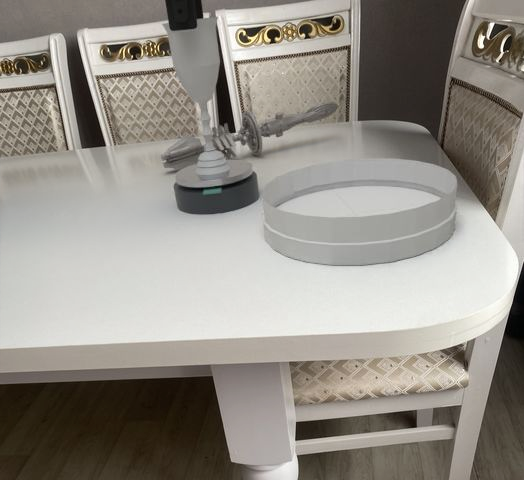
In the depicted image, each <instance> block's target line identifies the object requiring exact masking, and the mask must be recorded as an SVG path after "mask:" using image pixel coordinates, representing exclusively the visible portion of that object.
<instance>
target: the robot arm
mask: <svg viewBox="0 0 524 480" xmlns="http://www.w3.org/2000/svg"><path fill="white" fill-rule="evenodd" d="M164 2H165V9H166V15H167V21H168V22H167V23H169V28H170V30H171V31H180V30H189V29H196V28H197V19H202V18H205V17H204V10H203V3H202V2H203V1H202V0H164Z"/></svg>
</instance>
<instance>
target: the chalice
mask: <svg viewBox="0 0 524 480" xmlns="http://www.w3.org/2000/svg"><path fill="white" fill-rule="evenodd" d="M218 19H219V16H212V17H204V18H202V19H197V28H196V29H189V30H180V31H171V30H170V28H169V22H165V23H161V25H162V27H163V28H164V30H165V32H166V33H167V37H168V42H169V49H170V54H171V55H170V56H171V61H172V65H173V70H174V72H175V73H176V76H177V78H178V80H179V82H180V84H181V86H182V87H183V89H184V91H185V92H186V94H187V95H188V97H189V98H190V101H192V102H194V103H196V104H198V106H199V109H200V118H199V121H200V122H201V124H202V132H201V136H202V137H203V140H204V141H205V145H206V149H205V152H204V153H201V154H200V156H199V158H198V160H199V161H198V164H197V166H198V167H197V170H196V172H195V173H196V174H199V175H214V174H219V173H223V172H226V171H228V170H230V169H231V167H230V165H229V164H228V163H227V160H228V159H227V157H226V156H225V157H224V154H223V153H222V152H221V151H217V150H215V149H216V148H214V146H213V143H212V139H213V138H212V135H213V134H214V132H213V131H212V127H211V125H210V124H211V119H212V117H211V116H210V113H209V110H208V102H210V101H211V100H213V98H214V94H215V90H216V86H217V83H218V78H219V71H220V65H221V58H220V51H219V43H218V35H217V28H216V27H217V24H218Z"/></svg>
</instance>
